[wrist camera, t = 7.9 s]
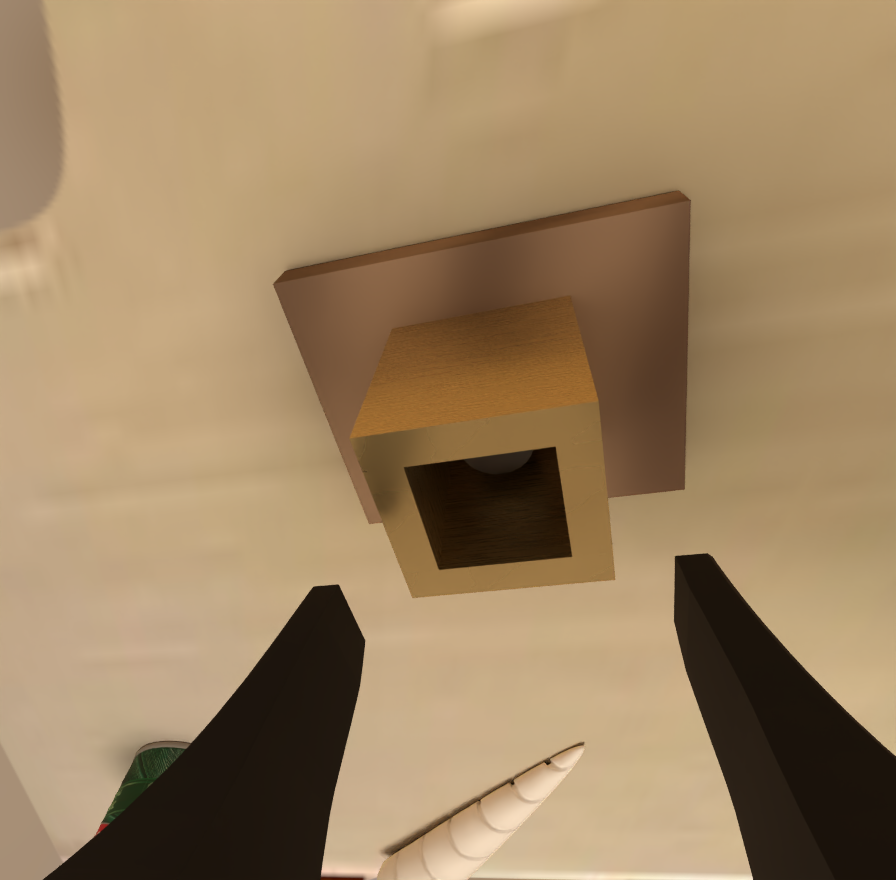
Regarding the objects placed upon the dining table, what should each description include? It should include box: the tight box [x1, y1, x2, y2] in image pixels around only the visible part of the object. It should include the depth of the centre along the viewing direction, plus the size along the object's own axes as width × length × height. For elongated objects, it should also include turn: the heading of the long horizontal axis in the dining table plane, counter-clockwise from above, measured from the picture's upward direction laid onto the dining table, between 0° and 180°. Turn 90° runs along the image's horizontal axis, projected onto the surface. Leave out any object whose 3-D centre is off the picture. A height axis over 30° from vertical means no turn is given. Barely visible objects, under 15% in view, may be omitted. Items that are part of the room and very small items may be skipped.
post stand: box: [273, 191, 691, 524], centre depth 18 cm, size 12×10×4 cm
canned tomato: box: [94, 741, 191, 837], centre depth 35 cm, size 8×8×11 cm
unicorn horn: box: [377, 746, 585, 880], centre depth 38 cm, size 5×24×5 cm, turn 147°
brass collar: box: [349, 295, 615, 598], centre depth 16 cm, size 6×6×6 cm
